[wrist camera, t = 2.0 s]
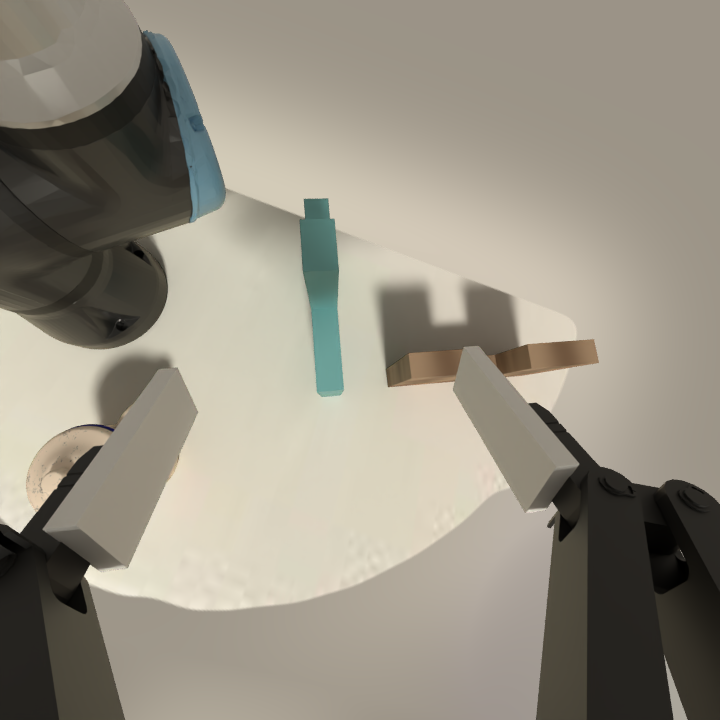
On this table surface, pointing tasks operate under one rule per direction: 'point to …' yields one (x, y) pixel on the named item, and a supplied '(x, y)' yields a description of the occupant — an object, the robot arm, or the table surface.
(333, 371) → the teal slotted plate
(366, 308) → the table surface
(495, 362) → the walnut slotted plate
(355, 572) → the table surface
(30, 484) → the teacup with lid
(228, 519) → the table surface
